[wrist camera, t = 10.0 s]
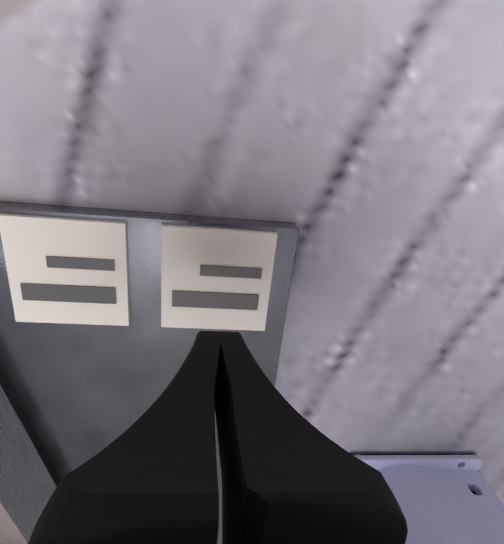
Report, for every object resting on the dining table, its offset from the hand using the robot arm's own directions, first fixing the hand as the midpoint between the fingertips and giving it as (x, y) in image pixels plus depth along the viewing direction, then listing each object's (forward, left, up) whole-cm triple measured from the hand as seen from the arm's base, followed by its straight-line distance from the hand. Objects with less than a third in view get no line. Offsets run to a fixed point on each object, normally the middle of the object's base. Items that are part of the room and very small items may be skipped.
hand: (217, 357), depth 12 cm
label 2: (0, 0, -7) cm, 7 cm away
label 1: (+6, 0, -7) cm, 9 cm away
